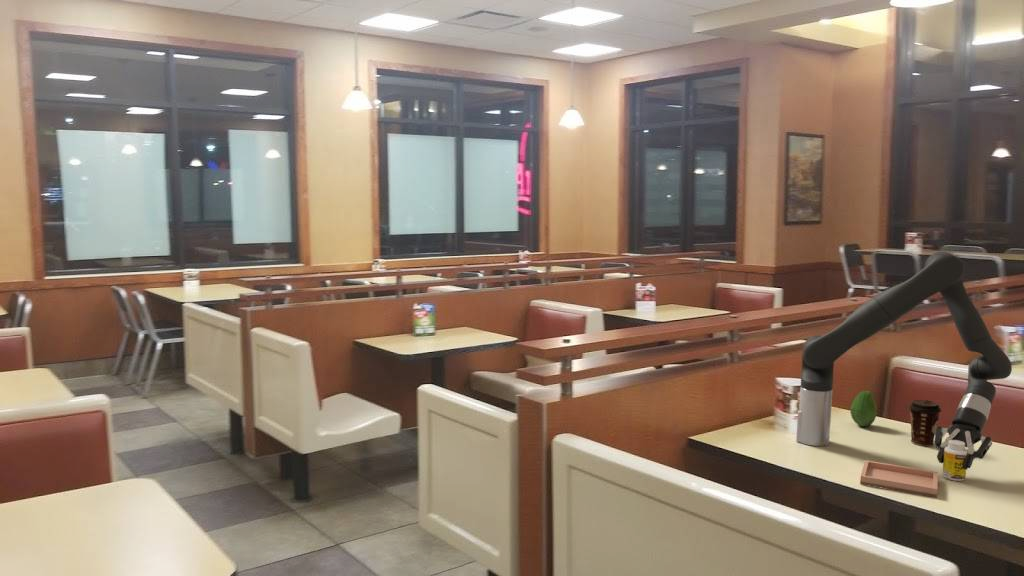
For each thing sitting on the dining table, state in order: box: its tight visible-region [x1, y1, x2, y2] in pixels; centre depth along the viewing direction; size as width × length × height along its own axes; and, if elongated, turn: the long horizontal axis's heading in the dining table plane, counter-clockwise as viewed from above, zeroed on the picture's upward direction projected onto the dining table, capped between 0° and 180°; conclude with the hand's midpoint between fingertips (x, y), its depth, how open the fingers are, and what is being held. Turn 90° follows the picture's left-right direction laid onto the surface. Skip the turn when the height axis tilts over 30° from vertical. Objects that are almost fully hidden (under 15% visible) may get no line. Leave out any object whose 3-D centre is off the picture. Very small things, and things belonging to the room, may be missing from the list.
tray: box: [859, 459, 939, 498], centre depth 207 cm, size 18×14×2 cm
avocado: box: [850, 390, 878, 427], centre depth 256 cm, size 8×8×12 cm
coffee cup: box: [908, 399, 942, 447], centre depth 238 cm, size 9×8×13 cm
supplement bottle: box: [941, 440, 969, 482], centre depth 210 cm, size 6×6×10 cm
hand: (952, 464), depth 209 cm, fingers closed on supplement bottle, 5 cm apart
